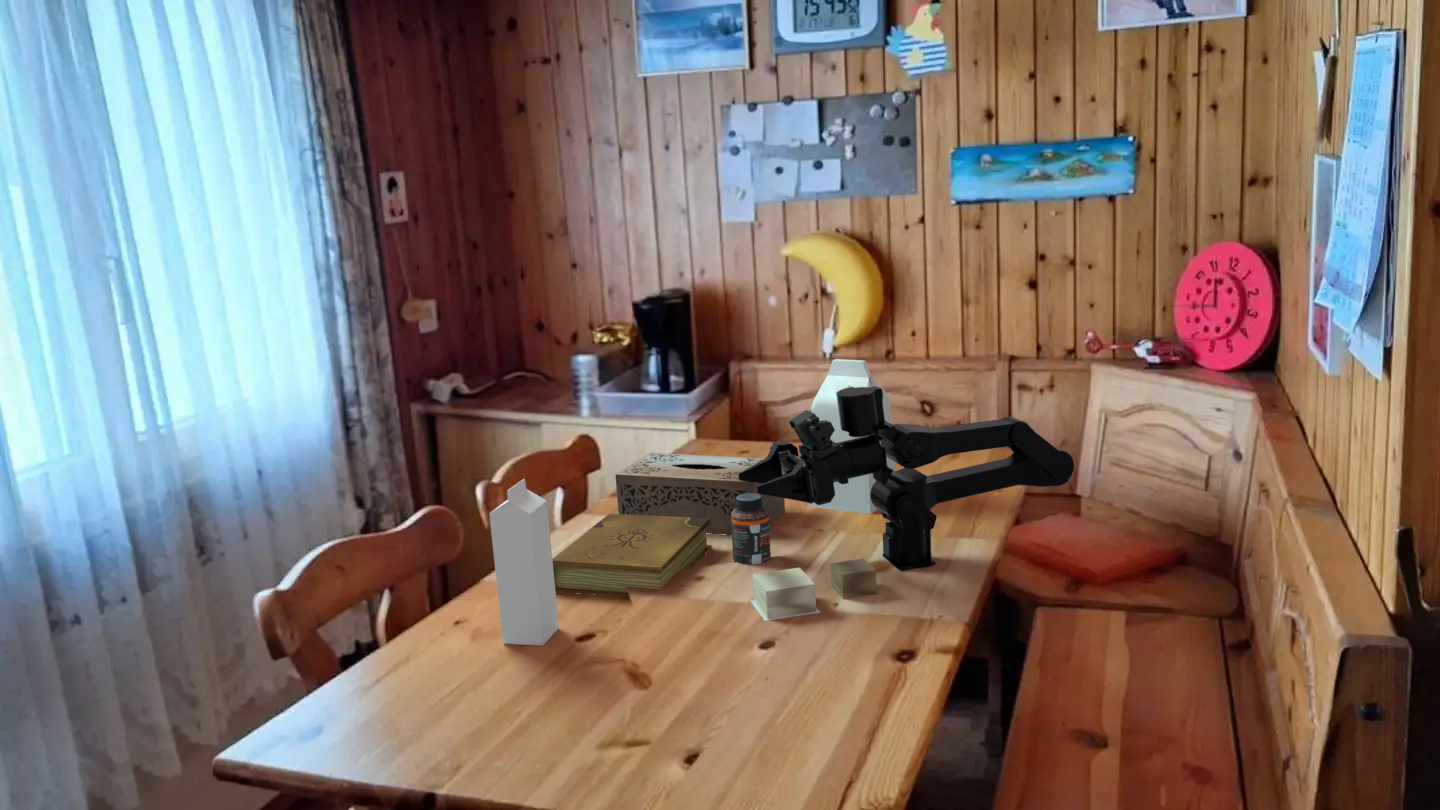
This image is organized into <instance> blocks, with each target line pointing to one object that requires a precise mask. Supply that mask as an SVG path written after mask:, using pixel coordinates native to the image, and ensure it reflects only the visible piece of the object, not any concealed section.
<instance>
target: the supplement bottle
mask: <svg viewBox="0 0 1440 810" xmlns="http://www.w3.org/2000/svg"><path fill="white" fill-rule="evenodd" d="M736 505H737V508H736V509H734V510H733V511H732V513H731V528H732V536H731V540H732V541H731V543H732V560H733V563H734V564H735V563H737V564H741V565H758V564H763V563H766V562H768V561H770V560H771V558H772V556H771V555H772V554H771V537H770V536H771V534H770V533H771V532H770V526H769V513H768V511H767V509H765V508H764V507H763V506H762V496H761V495H759V494H753V493H748V494H741V495H739V496H737V497H736Z"/></svg>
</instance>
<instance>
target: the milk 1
mask: <svg viewBox="0 0 1440 810" xmlns="http://www.w3.org/2000/svg"><path fill="white" fill-rule="evenodd" d="M506 498H507V500H505V501H504V502H503V503H501V504H499V506H497V507H496V508H494V509H493V510H492V511H490V512H489V514H488V515H489V525H490V533H491V541H492V542H491V543H492V551H493V561H494V569H495V571H494V572H495V579H496V588H497V589H496V591H497V600H498V608H499V617H500V626H501V636H502V644H504V645H520V646H521V645H522V646H524V645H525V646H544V645H545V644H546V643H547V642H548V641H549V639H551V638H552V636H553V635H554V634H555V633H556V632H557V631H558V630H559V629H560V626H559V625H560V624H559V613H558V605H557V604H558V603H557V593H556V592H555V581H554V571H553V560H552V559H553V552H552V541H551V531H550V520H549V519H550V518H549V511H548V510H549V509H548V501H547V500H546V499H544V498H543V497H541V496H539V495H538V494H537V493H534V492H533V491H531V490H529V489H527V484H526V479H525V478H523V479H521V480H520V481H518V482H517V483H516V484H514V485H513V486H511V487H510V488H509V489H507V491H506Z"/></svg>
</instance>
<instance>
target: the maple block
mask: <svg viewBox="0 0 1440 810" xmlns="http://www.w3.org/2000/svg"><path fill="white" fill-rule="evenodd" d="M752 585H753V586H752V591H753V600H754V602H755V603H756V604H757V606H758V607H759V608H760V610H761V611H762V612H763V614H764V615H765V616H766V618H767V619H770V618H777V617H783V616H790V615H796V614H803V613H809V612H816V607H817V603H816V602H817V599H816V597H817V596H816V584H815V583H814V582H813V580H812V579H811V578H810V577H809V575H807V574H806V573H805V572H804V570H802V568H801V567H795V568H788V569H787V568H786V569H781V570H774V571H766V572H761V573H760V572H759V573H753V574H752Z"/></svg>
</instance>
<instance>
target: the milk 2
mask: <svg viewBox="0 0 1440 810" xmlns="http://www.w3.org/2000/svg"><path fill="white" fill-rule="evenodd" d="M874 386H877V387H879V388H881V389H882V392H883V410H884V418H885V421H887V422H889V423H891V424H893V421H892V410H891V401H890V397H889V395H888V393H887V392H886V390H885V389H884V388H883V387H882V386H881V385H880V383H879V382H878V381H877V380H876V379H875V378H874V377H873V376H872V372H871V371H870V368H869V366H868V363H867V361H866V360H861V359H860V360H859V359H844V358H842V359H841V358H835V359H833V360H832V361H831V364H830V366H829V369H828V372H827V375H826V377H825V379H824V381H822V384H821V386H820V388H819V389H818V392H817V393H816V395H815V397H814V399H813V401H812V404H811V407H810V408H811V409H810V412H812V413H814V414H815V415H816V416H817V417H819V421H823V420H827V421H829V422H831V423H832V425H833V427H834V429H835V431H834V432H833V434H832V436H831V437H830V439H831V440H832V441H833V442H835V443H838V442H842V441H846V440H851V439H855V438H859V437H851V436H849V434H848V432H845V431H842V430H841V425H840V418H839V410H838V403H837V395H836V393H837V392H838V391H839V390H842V389H845V388H848V387H854V388H856V387H874ZM880 445H881V442H880ZM886 460H887V466H888V467H889V468H891V469H893V471H897V470H896V462H894V461H892V460H891V459H889V458H887V457H886ZM848 482H849V483H847V484H843V485H842V484H840V483H839V482H835V483H834V490H835V496H834V498H833V499H832V501H831V502H830V503H826V504H822V505H817V504H815V503H814V502H813V503H812V504H810V503H809V507H813V508H820V509H827V510H829V509H830V510H834V511H835V510H837V511H843V512H849V513H852V512H853V513H859V514H868V515H872V514H873V513H874V512H876V511H877V510H878V509H877V508H876V507H875V506H874V505H873V503H872V501H871V498H870V493H871V489H872V486H873V485H874V483H875V482H876V480H875V479H874V478H873V473H871V474H867V475H863V476H859V477H855V478H851V479H848Z"/></svg>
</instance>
